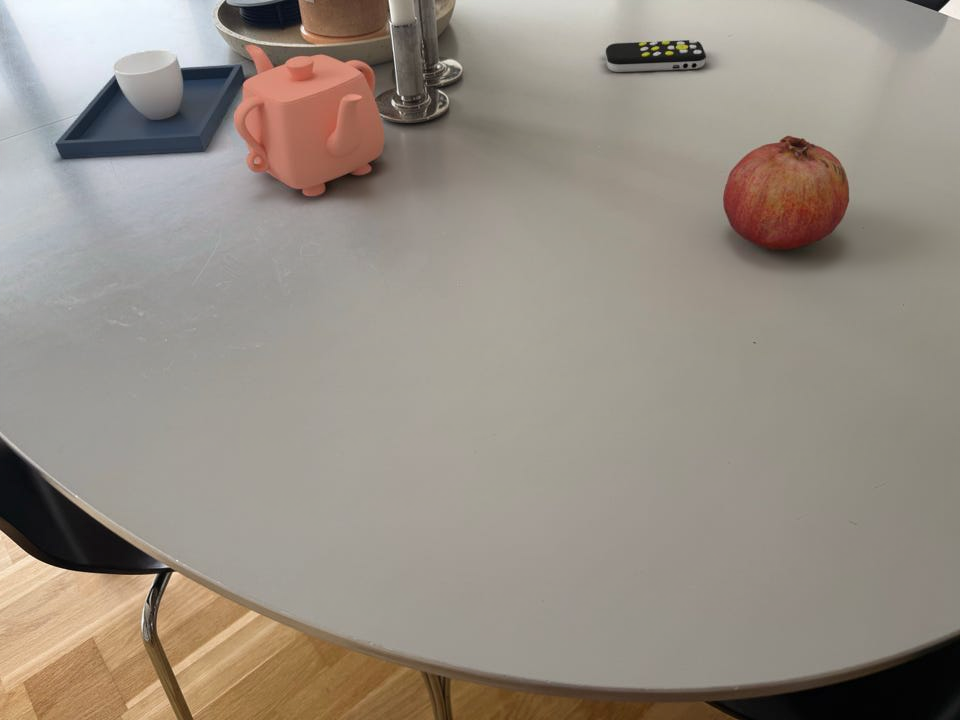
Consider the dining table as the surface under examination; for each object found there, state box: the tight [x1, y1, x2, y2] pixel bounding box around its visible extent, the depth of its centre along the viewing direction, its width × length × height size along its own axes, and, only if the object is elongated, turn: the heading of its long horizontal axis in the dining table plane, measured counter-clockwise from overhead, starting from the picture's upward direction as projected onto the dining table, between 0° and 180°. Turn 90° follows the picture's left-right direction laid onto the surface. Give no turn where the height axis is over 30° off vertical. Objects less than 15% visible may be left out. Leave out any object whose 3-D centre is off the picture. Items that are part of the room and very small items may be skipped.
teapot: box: [233, 44, 385, 197], centre depth 88 cm, size 15×17×13 cm
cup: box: [112, 49, 183, 120], centre depth 104 cm, size 8×10×7 cm
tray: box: [54, 63, 246, 160], centre depth 106 cm, size 22×18×2 cm
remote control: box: [605, 39, 707, 73], centre depth 108 cm, size 6×13×2 cm, turn 87°
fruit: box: [722, 135, 850, 250], centre depth 73 cm, size 11×10×10 cm
